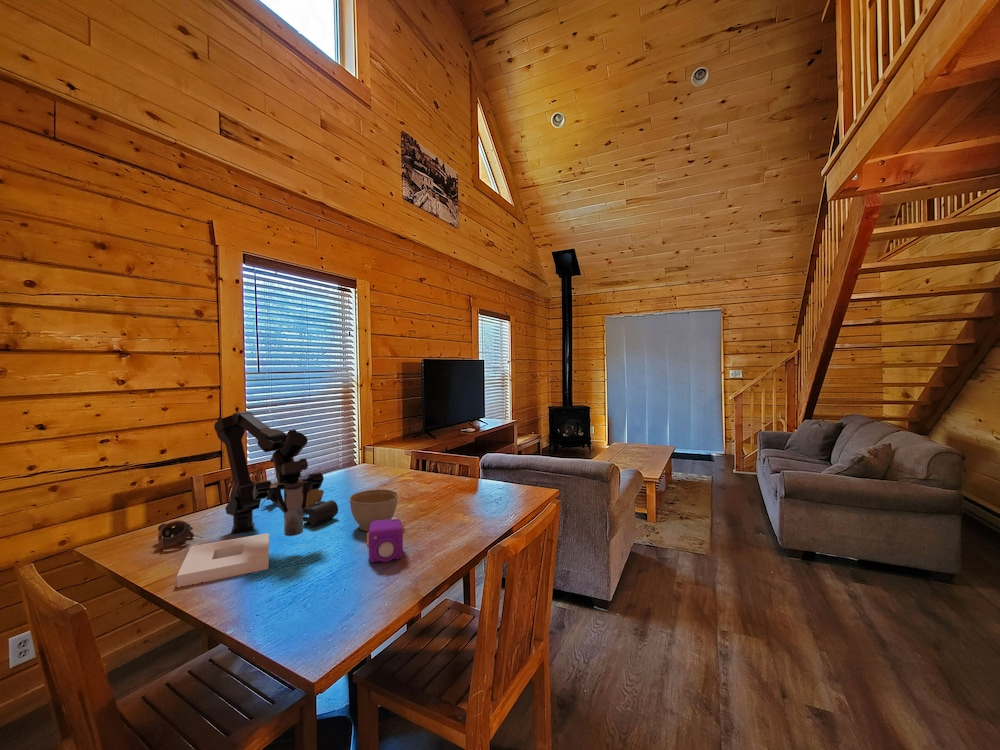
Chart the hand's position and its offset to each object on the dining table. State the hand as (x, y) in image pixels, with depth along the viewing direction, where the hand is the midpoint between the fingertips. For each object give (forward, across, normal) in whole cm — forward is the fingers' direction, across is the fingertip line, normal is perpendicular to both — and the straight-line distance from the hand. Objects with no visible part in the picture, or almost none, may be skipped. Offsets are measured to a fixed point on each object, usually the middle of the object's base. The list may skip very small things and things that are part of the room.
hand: (294, 510), depth 121 cm
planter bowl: (+6, +27, +14) cm, 31 cm away
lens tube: (+4, 0, +6) cm, 7 cm away
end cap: (-6, +14, +26) cm, 30 cm away
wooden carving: (-20, +15, +39) cm, 47 cm away
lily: (-29, +6, +49) cm, 57 cm away
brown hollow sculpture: (-14, -26, +34) cm, 46 cm away
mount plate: (+4, -16, +15) cm, 22 cm away
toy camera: (+23, +20, -4) cm, 31 cm away
